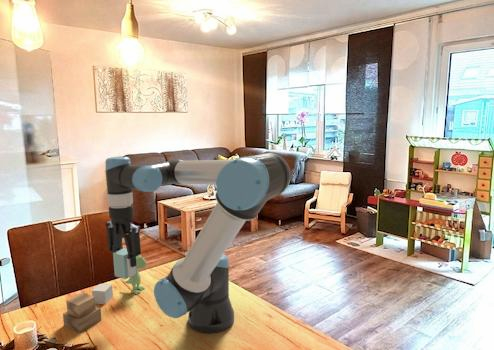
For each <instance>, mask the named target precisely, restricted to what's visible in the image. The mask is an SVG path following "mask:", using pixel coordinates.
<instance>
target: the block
mask: <svg viewBox="0 0 494 350" xmlns="http://www.w3.org/2000/svg"><path fill="white" fill-rule="evenodd" d="M113 293H114V290H113V285H112V284H105V283H99V284H98V285H97V286H95V287H94V288H93V289H92V290H91V296H94V297H95V304H99V305H107V304H108V303H109V302H110V301H111V300H112V299H113V297H114V294H113Z"/></svg>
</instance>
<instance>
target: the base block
mask: <svg viewBox="0 0 494 350" xmlns="http://www.w3.org/2000/svg"><path fill="white" fill-rule="evenodd" d="M62 318H63V326H64V327H66V328H68V329H71V330H73V331H75V332H77V333H79V334H81V333H83V332H84V331H86V330H87V329H89V328H91V327H93V326H95V325H96V324H98V323H100V322H101V321H102V311H101V308H100V307H99V306H96V310H94V311H92V312H90V313H89V314H87V315H85V316H83V317H81V318H80V319H79V318H77V317H75V316H72V315H70V314H68V313H67V311H65V312H64V313H62Z"/></svg>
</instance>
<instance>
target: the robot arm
mask: <svg viewBox="0 0 494 350" xmlns="http://www.w3.org/2000/svg"><path fill="white" fill-rule="evenodd" d="M104 172H105V179H106V180H105V181H106V182H105V183H106V190H107V191H106V192H107V194H106V195H107V205H108V206H109V207H108V218H109V219H111V220H110V221H107V222H105V228H106V234H107V249H108V252H112V254H113V253H114V252H116V251H119V250H121V249H122V242H123V241H124V244H125V248H127V252H128V256H129V257H127V267H128V277H129V278H130V277H132V276H133V275H135V274H136V256H138V255H141V256H142V251H141V248H142V247H141V237H140V231H141V226H140V225H135V224H134V221H133V217H134V215H135V211H134V205H133V203H134V198H133V197H134V196H133V194H134V193H133V191H134V190H135V191H138V192H139V191H140V192H143V193H144V192H145V193H147V192H149V193H151V192H155V191H157V190H158V189H159V188H160V187H163V186H167V185H173V184H175V185H177V184H178V185H179V184H180V185H212V186H213V185H214V186H217V188H216V192H215V199H216V200H215V201H216V202H217V203H216V204H215V206H214V208H213V209H212V211H211V213H210V214H209V216H208V218H207V220H206V221H205V223H204V224H203V226H202V228H201V230H200V231H199V233H198V235H197V236H196V238H195V240H194V241H193V243H192V244H191V246H190V248H189V250H188V251H187V253H186V254H185V256H184V258H180V259H179V260H177V261H176V262H175V263H174V264H173V266H172V268H171V270H170V271H169V273H168V275H167V276H165V277H163V278H161V279H159V280H158V281H157V282H156V283H155V285H154V289H153V296H154V298H155V302H156V304H157V305H158V308H159V309H160V310H161V312H163V314H165V315H166V316H167V317H168V318H172V319H179V318H182V317H183V316H185V315H187V313H188V321H187V322H188V325H189V326H190V327H191V329H193V330H194V331H196V332H199V333H204V334H214V333H215V334H216V333H219V332H222V331H224V330H225V331H226V330H227V329H229V328H230V327H231V326H232V325H233V323H234V322H235V311H234V308H233V306H232V302H231V300H230V295H229V294H230V292H229V291H230V288H229V286H230V281H229V280H230V278H229V277H230V276H229V275H230V273H229V269H230V265H229V257H228V256H227V255H226V254H225V253H226V252H227V250H228V248H229V247H230V246H231V244H232V242H233V241H234V240H235V238H236V236H237V235H238V234H239V233H240V230H241V229H242V228H243V227H244V224H245V223H246V221H252V220H254V219H256V217H257V216H258V215H259V214H260V212H261V210H262V208H263V207H264V206H265V204H266V203H267V201H269V200H271V199H274V198H275V197H277V196H279V195H281V194H282V193H284V191H286V190H287V188H288V187H289V184H290V182H291V176H292V173H291V168H290V165H289V163H288V162H287V161H286V159H284V157H282V156H281V155H279V154H276V153H272V152H265V153H260V154H256V155H249V156H240V157H236V158H235V159H211V160H210V159H205V160H203V159H201V160H199V159H198V160H191V159H190V160H182V159H171V160H167V161H161V162H155V163H146V164H142V165H141V164H140V165H139V164H132V162H131V158H130V157H128V156H111V157H108V158H106V159H105V170H104ZM122 240H123V241H122Z"/></svg>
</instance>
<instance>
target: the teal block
mask: <svg viewBox="0 0 494 350" xmlns="http://www.w3.org/2000/svg"><path fill="white" fill-rule="evenodd" d="M112 256H113V260H112V261H113V271H114V277H116V278H119V279H123V280H128V279H129V278H130V277H128V267H127V257H129V256H128V252H127V248H126V247H124V248H121V250H119V251H116V252H114V253H112ZM136 274H137V263H136Z"/></svg>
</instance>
